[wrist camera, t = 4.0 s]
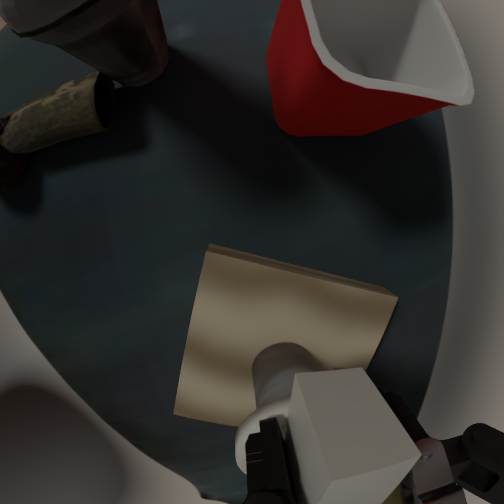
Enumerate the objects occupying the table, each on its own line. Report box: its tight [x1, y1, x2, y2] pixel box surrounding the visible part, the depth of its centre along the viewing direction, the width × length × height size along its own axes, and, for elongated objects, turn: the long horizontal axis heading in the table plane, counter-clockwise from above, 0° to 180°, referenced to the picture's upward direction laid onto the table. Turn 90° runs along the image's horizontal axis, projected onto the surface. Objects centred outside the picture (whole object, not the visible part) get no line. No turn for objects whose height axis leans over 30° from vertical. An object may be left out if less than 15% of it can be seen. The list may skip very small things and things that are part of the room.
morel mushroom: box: [0, 71, 116, 192], centre depth 14 cm, size 18×7×6 cm, turn 95°
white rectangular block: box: [235, 367, 422, 504], centre depth 9 cm, size 11×7×6 cm, turn 177°
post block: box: [174, 244, 398, 427], centre depth 17 cm, size 14×14×9 cm
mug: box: [266, 0, 475, 137], centre depth 11 cm, size 12×8×11 cm
